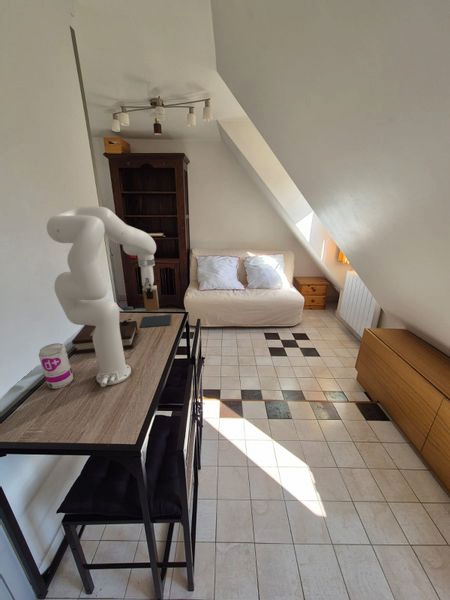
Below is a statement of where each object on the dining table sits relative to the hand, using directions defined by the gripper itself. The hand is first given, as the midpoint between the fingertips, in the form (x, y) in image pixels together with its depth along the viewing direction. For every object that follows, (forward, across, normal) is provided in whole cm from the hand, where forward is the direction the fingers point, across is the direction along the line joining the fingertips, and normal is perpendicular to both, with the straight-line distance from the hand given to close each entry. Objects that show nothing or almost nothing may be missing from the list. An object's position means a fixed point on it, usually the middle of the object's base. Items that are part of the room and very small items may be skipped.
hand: (150, 296), depth 130 cm
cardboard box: (+7, 0, 0) cm, 7 cm away
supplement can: (+19, +40, -31) cm, 54 cm away
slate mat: (+19, -10, 0) cm, 22 cm away
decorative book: (+19, +10, -21) cm, 30 cm away
